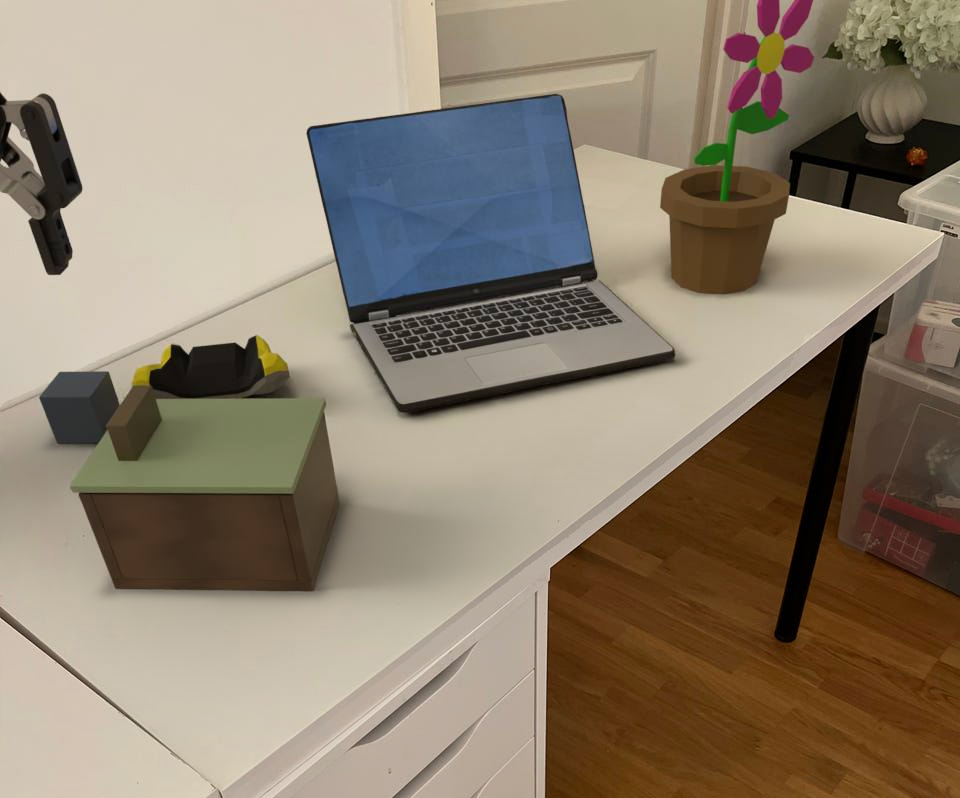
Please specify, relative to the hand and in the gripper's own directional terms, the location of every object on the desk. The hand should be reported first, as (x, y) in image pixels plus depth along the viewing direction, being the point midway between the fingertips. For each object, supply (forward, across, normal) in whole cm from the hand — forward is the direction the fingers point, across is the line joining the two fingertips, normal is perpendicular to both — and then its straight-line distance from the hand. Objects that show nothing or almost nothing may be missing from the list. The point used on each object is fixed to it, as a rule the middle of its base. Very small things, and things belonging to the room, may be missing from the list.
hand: (1, 271), depth 66 cm
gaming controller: (+23, -3, -24) cm, 34 cm away
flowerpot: (+23, -56, -53) cm, 80 cm away
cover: (+14, -11, 0) cm, 18 cm away
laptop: (+23, -30, -40) cm, 55 cm away
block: (+23, +8, -18) cm, 30 cm away
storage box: (+23, -11, 0) cm, 25 cm away
